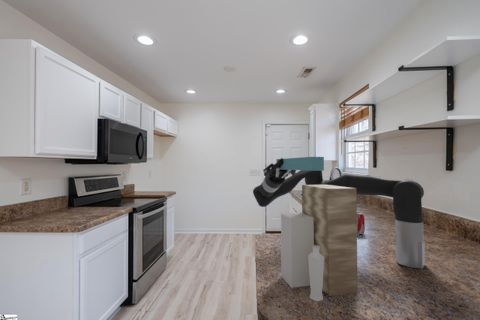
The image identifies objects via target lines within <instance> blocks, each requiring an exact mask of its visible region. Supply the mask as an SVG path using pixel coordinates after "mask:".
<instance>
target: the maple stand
mask: <svg viewBox="0 0 480 320" xmlns="http://www.w3.org/2000/svg"><path fill="white" fill-rule="evenodd" d="M357 205H358V204H357V194H356V188H350V187H342V186H333V185H306V184H301V211H302V212H301V213H304V214H306V215H309V216H311V217H314V245H318V246H319V247H320V248H319V253H320V254H321V255H322V256H324V271H323V286H322V292H324V293H325V294H327V295H328V297H333V296H339V295H345V294H351V293H352V294H353V293H358V291H359V290H358V289H359V287H358V235H357V212H358V210H357V209H358V208H357V207H358V206H357Z"/></svg>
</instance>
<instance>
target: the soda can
mask: <svg viewBox="0 0 480 320" xmlns="http://www.w3.org/2000/svg"><path fill="white" fill-rule="evenodd" d="M365 222H366V220H365V214H364V212H360V211H357V234H362V235H364V234H365V232H366V231H365V226H366V225H365V224H366V223H365Z"/></svg>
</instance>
